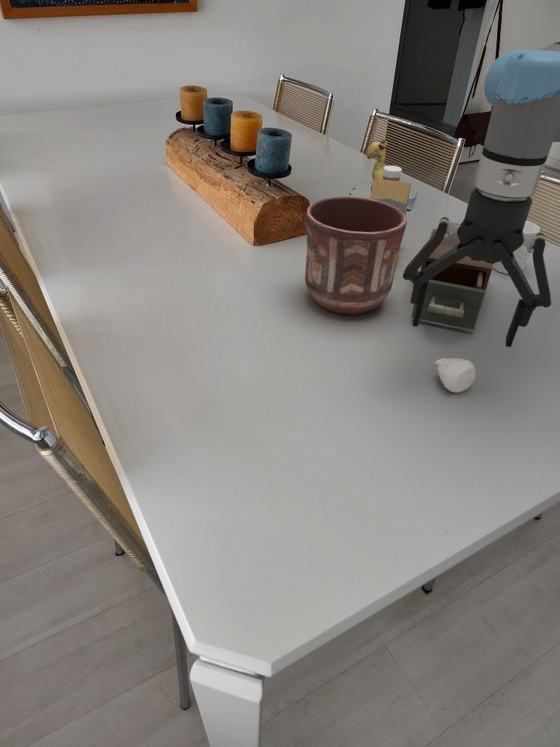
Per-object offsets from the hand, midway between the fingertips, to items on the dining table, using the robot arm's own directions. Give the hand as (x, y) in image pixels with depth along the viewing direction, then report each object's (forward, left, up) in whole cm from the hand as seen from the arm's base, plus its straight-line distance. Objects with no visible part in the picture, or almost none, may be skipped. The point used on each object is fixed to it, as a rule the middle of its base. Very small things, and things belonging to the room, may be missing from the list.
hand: (461, 332), depth 82 cm
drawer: (+3, -21, -9) cm, 23 cm away
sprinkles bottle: (+23, -64, -10) cm, 69 cm away
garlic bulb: (0, 0, -10) cm, 10 cm away
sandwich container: (+20, -42, -10) cm, 48 cm away
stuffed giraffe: (+27, -81, -10) cm, 86 cm away
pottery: (+22, -19, -10) cm, 31 cm away
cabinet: (+3, -32, -10) cm, 34 cm away
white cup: (-8, -48, -10) cm, 50 cm away
